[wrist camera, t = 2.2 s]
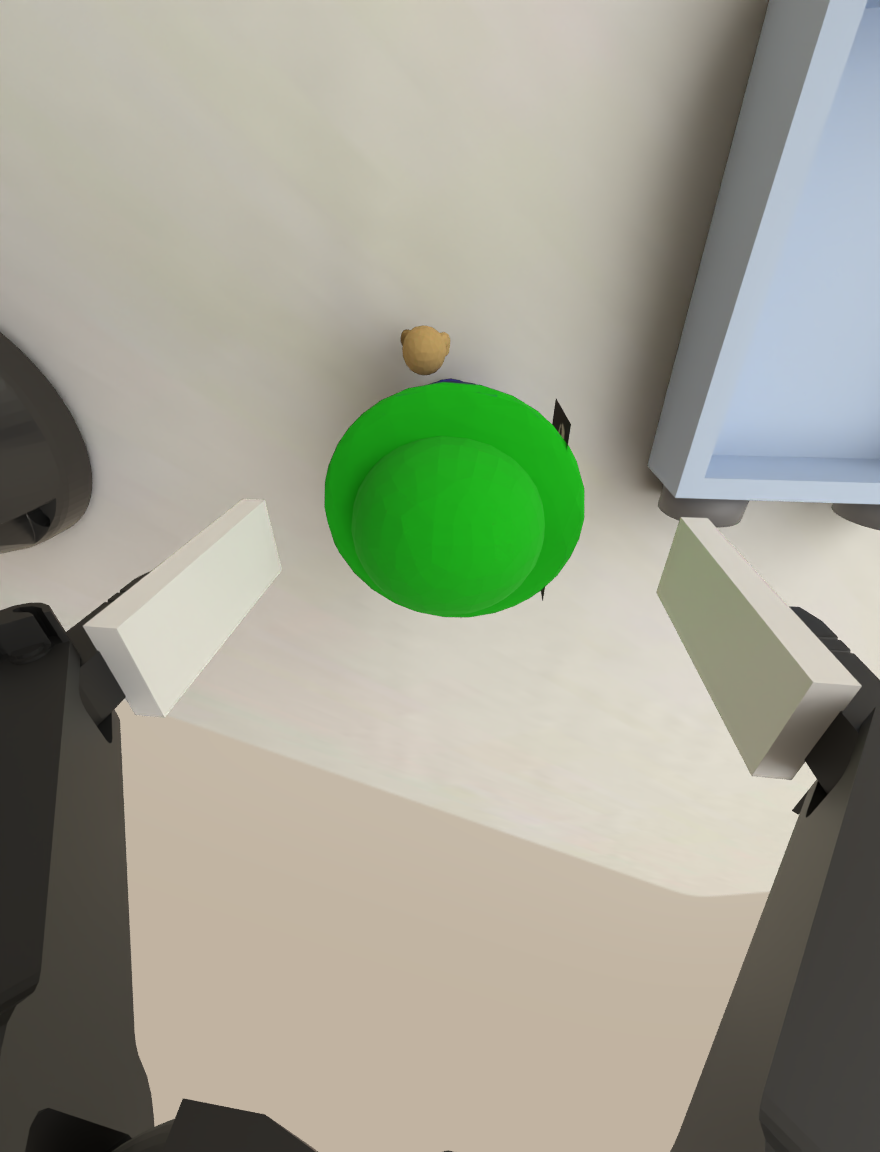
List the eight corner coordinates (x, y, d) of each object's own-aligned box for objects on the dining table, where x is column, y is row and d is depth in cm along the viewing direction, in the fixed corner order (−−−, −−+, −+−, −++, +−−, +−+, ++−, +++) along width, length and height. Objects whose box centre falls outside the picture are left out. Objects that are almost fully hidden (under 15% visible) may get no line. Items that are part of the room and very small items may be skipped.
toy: (562, 512, 26) (623, 712, 14) (426, 540, 28) (373, 735, 16) (530, 287, 20) (586, 285, 8) (360, 343, 22) (193, 409, 10)
